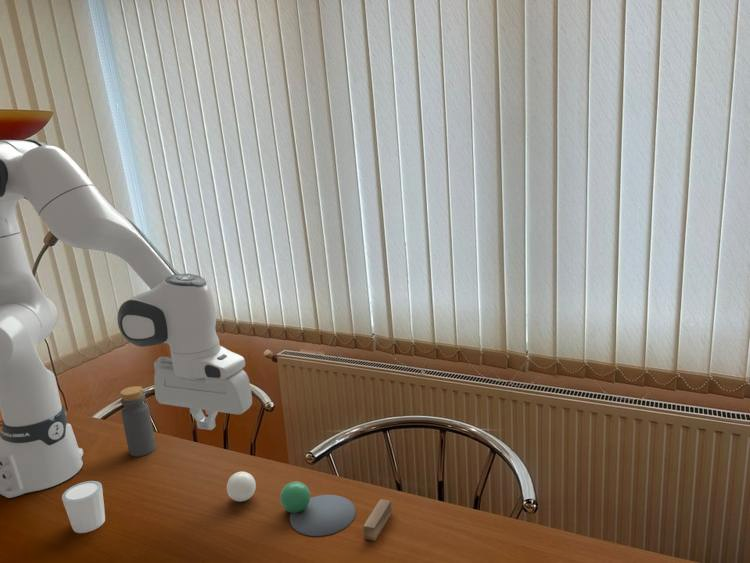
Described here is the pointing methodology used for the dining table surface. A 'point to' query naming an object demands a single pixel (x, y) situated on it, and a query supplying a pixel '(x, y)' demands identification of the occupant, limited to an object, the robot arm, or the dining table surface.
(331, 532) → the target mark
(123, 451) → the dining table surface
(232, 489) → the cue ball
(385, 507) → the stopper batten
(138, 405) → the bottle
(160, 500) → the dining table surface
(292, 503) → the green ball
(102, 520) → the shot glass
